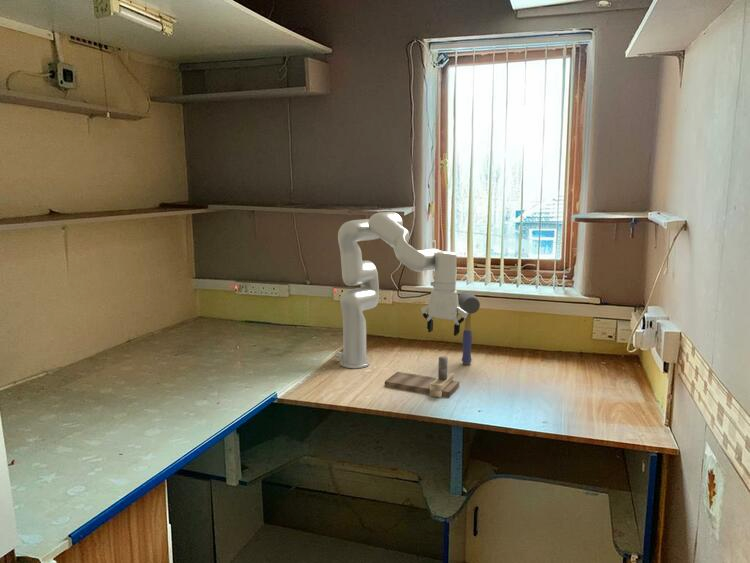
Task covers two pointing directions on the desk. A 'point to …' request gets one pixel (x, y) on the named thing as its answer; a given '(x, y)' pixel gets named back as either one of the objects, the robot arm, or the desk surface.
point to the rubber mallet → (468, 322)
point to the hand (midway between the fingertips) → (443, 333)
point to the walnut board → (418, 383)
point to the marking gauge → (441, 378)
